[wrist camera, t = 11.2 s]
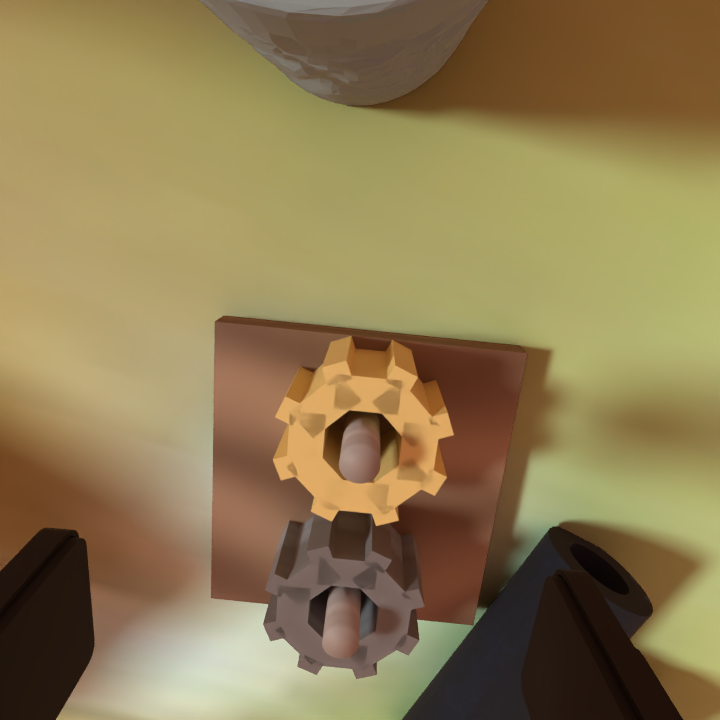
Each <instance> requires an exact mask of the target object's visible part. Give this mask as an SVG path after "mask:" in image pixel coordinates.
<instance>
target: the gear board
mask: <svg viewBox="0 0 720 720" xmlns="http://www.w3.org/2000/svg"><path fill="white" fill-rule="evenodd" d="M349 336H352V339H353V342H354V345H355V348H356V349H366V350H376V351H386V350H387V348H388V347H389V345H390V343H391V341H392V340H394V341H395V342H397V343H399V344H401V345H403V346H405V347H407V348H409V349H411V351H412V355H413V359H414V363H415V367H416V371H417V375H418V378H419V379H420V380H421V382H422V383H427V382H430V381H434V380H436V381H437V384H438V387H439V390H440V392H441V395H442V398H443V401H444V404H445V407H446V409H447V412H448V416H449V419H450V423H451V427H452V430H453V434H454V435H452V436H448V437H445V438H441V439H438V445H439V448H440V452H441V456H442V460H443V464H444V467H445V471H446V475H447V478H446V480H445V481H444V483H443V484H442V486H441V487H440V489H439V490H438V492H437V493H436V495H435V496H434V495H432V494H430V493H428V492H426V491H424V490H422V489H421V490H420V491H418V492H417V493H416V494H414V495H413V496H411V497H410V498H408V499H407V500H405V501H404V502H403V503H401V504H400V505H398V516H399V521H395V522H391V523H387V524H383V525H379V526H376V524H375V521H374V519H373V516H372V514H370V513H360V512H351V511H341V510H339V511H338V512H337V514H336V516H335V517H334V519H333V521H329V520H327V519H325V518H323V517H321V516H319V515H317V514H315V513H313V512H311V509H312V504H313V499H314V496H313V495H312V494H311V493H310V492H309V491H308V490H307V489H306V488H305V487H304V485H303V484H302V483H301V482H300V481H299V480H298V479H297V478H296V477H292V478H288V479H285V480H281V479H280V477H279V474H278V472H277V469H276V467H275V464H274V462H273V458H274V455H275V453H276V451H277V448H278V446H279V443H280V441H281V439H282V436H283V434H284V432H285V429H286V427H287V424H288V423H286V422H284V421H282V420H280V419H278V418H275V416H276V414H277V412H278V410H279V408H280V406H281V404H282V402H283V400H284V398H285V396H286V394H287V392H288V390H289V388H290V386H291V384H292V382H293V380H294V378H295V376H296V374H297V372H298V370H299V368H300V366H301V367H303V368H305V369H306V370H308V371H310V372H314V371H315V370H316V369H317V368H319V367H320V366H321V365H322V364H323V363H324V360H325V357H326V354H327V351H328V349H329V346H330V343H331V342H332V341H335V340H339V339H342V338H346V337H349ZM527 354H528V353H527V352H526V351H525V350H524V349H522V348H521V347H520V346H516V345H506V344H497V343H487V342H477V341H467V340H457V339H447V338H437V337H428V336H418V335H408V334H398V333H388V332H378V331H368V330H358V329H349V328H339V327H329V326H319V325H309V324H299V323H289V322H280V321H270V320H260V319H250V318H240V317H230V316H222V317H221V318H219V319H218V320H217V321H215V354H214V428H213V502H212V575H211V598H215V599H225V600H234V601H244V602H254V603H263V604H269V605H268V608H267V612H266V616H265V619H264V623H263V625H264V627H265V629H266V632H267V634H268V636H269V639H270V641H273V640H278V639H282V638H284V639H285V640H286V641H287V642H288V643H289V644H290V645H291V646H292V647H293V648H294V649H295V650H296V651H297V652H298V653H299V654H300V655H299V661H298V667H300V668H302V669H304V670H307V671H309V672H311V673H313V674H316V675H317V673H318V672H319V670H320V669H321V667H322V666H329V667H339V668H349V669H353V672H354V675H355V677H356V679H359V678H364V677H368V676H373V675H377V662H378V661H379V660H381V659H383V658H384V657H386V656H387V655H389V654H391V653H392V652H394V651H396V650H398V651H400V652H402V653H404V654H406V655H409V654H410V652H411V651H412V650H413V648H414V647H415V646H416V644H417V643H418V641H419V633H418V623H417V619H418V620H427V621H437V622H447V623H456V624H466V625H473V624H474V619H475V614H476V609H477V604H478V599H479V594H480V589H481V584H482V579H483V574H484V569H485V564H486V559H487V554H488V549H489V544H490V539H491V534H492V529H493V524H494V519H495V514H496V509H497V504H498V499H499V494H500V489H501V484H502V479H503V474H504V469H505V464H506V459H507V454H508V449H509V444H510V439H511V434H512V429H513V424H514V419H515V414H516V409H517V404H518V399H519V394H520V389H521V384H522V379H523V374H524V369H525V364H526V359H527ZM334 423H335V424H336V425H337V426H338V427H339V428H340V430H341V431H342V432H343V440H342V446H341V453H340V459H339V469H340V472H341V474H342V475H343V476H344V477H345V478H346V479H347V480H349V481H351V482H353V483H358V484H362V483H367V482H370V481H371V480H373V479H374V478H375V477H376V476H377V475H378V473H379V471H380V436H382V435H383V434H384V433H386V432H387V431H388V430H390V429H391V428H392V427H393V426H392V424H391V423H390V422H389V421H388V420H387V419H386V418H385V416H384V415H383V414H382V413H372V412H362V411H352V410H349V411H348V412H347V413H345V414H344V415H343V416H341V417H340V418H339V419H337V420H336V421H335V422H334Z"/></svg>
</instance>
